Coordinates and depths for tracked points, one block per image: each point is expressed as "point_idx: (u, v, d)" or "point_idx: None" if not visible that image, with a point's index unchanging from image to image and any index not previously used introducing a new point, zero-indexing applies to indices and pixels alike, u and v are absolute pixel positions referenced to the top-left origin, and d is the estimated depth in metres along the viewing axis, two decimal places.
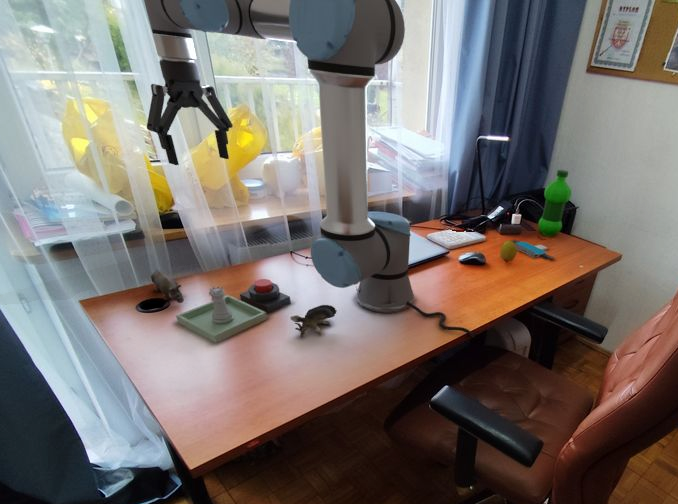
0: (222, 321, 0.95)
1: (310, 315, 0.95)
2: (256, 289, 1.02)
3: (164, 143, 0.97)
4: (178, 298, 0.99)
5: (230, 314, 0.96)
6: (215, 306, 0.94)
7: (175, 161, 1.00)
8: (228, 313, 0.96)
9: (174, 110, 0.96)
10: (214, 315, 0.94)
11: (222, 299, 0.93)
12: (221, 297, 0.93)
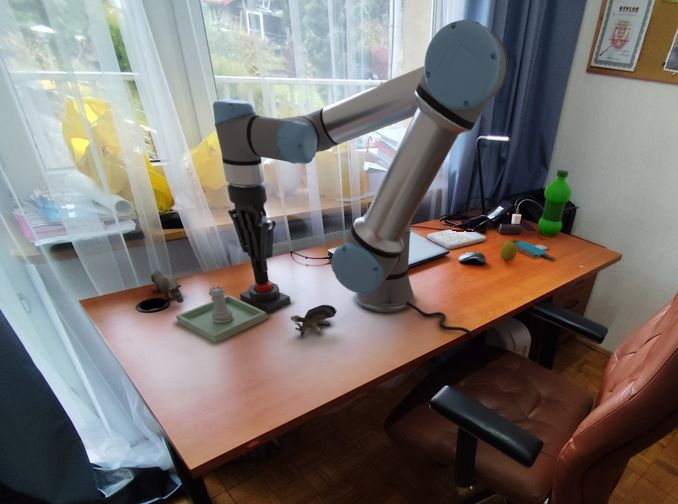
0: (222, 321, 0.95)
1: (310, 315, 0.95)
2: (256, 290, 1.02)
3: (252, 263, 1.00)
4: (178, 298, 0.99)
5: (230, 314, 0.96)
6: (215, 306, 0.94)
7: (255, 280, 1.02)
8: (228, 313, 0.96)
9: (245, 231, 0.95)
10: (214, 315, 0.94)
11: (222, 299, 0.93)
12: (221, 297, 0.93)
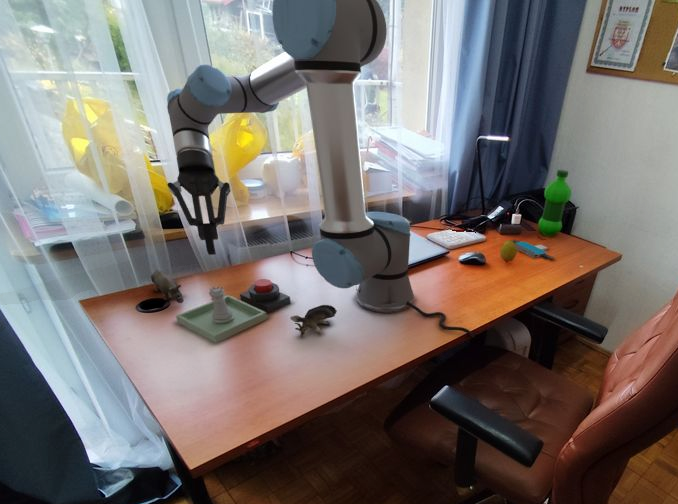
0: (222, 321, 0.95)
1: (310, 315, 0.95)
2: (256, 289, 1.02)
3: (199, 232, 0.95)
4: (178, 298, 0.99)
5: (230, 314, 0.96)
6: (215, 306, 0.94)
7: (207, 247, 0.94)
8: (228, 313, 0.96)
9: (194, 198, 0.95)
10: (214, 315, 0.94)
11: (222, 299, 0.93)
12: (221, 297, 0.93)
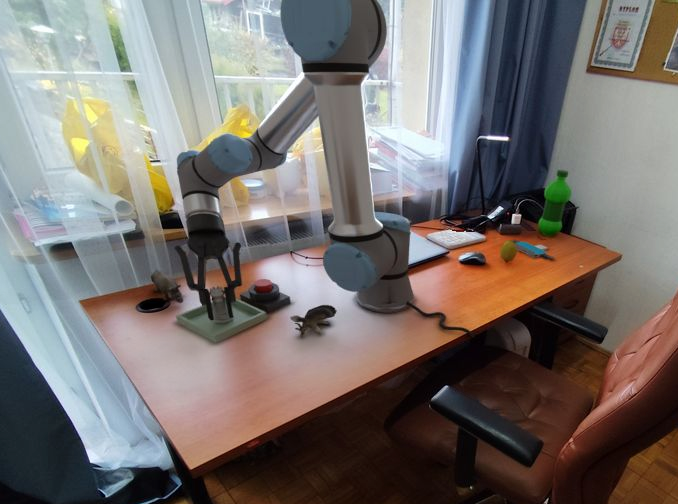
0: (222, 321, 0.95)
1: (310, 315, 0.95)
2: (256, 289, 1.02)
3: (200, 298, 0.91)
4: (178, 298, 0.99)
5: None
6: (215, 306, 0.94)
7: (208, 313, 0.91)
8: None
9: (200, 262, 0.92)
10: (214, 315, 0.94)
11: (222, 299, 0.93)
12: (221, 297, 0.93)
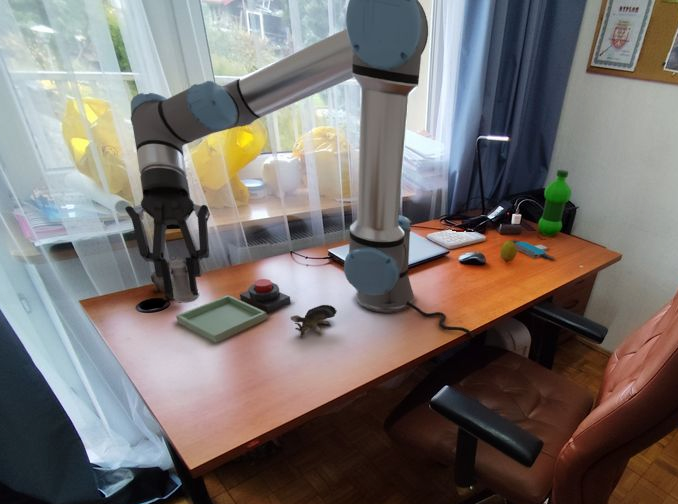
0: (185, 299, 0.79)
1: (310, 315, 0.95)
2: (256, 289, 1.02)
3: (156, 270, 0.75)
4: None
5: None
6: (175, 281, 0.77)
7: (165, 289, 0.74)
8: None
9: (157, 227, 0.76)
10: (175, 292, 0.78)
11: (184, 272, 0.77)
12: (182, 270, 0.77)
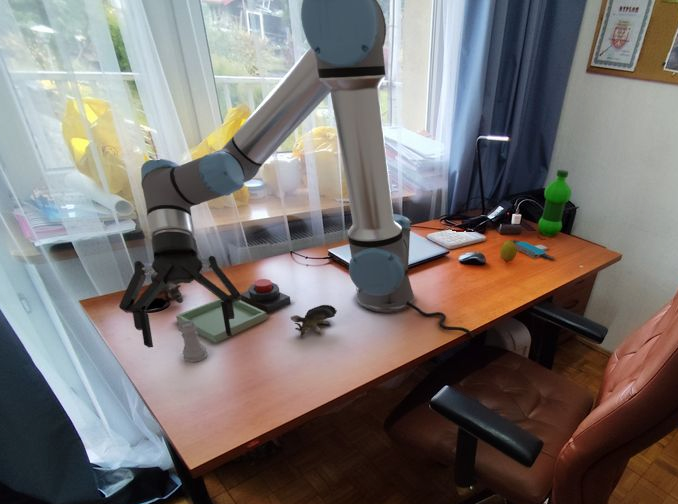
0: (194, 359, 0.83)
1: (310, 315, 0.95)
2: (256, 289, 1.02)
3: (135, 321, 0.77)
4: (177, 298, 0.99)
5: (204, 351, 0.84)
6: (186, 343, 0.82)
7: (144, 340, 0.77)
8: (202, 350, 0.84)
9: (154, 284, 0.79)
10: (185, 352, 0.83)
11: (194, 335, 0.82)
12: (193, 333, 0.81)
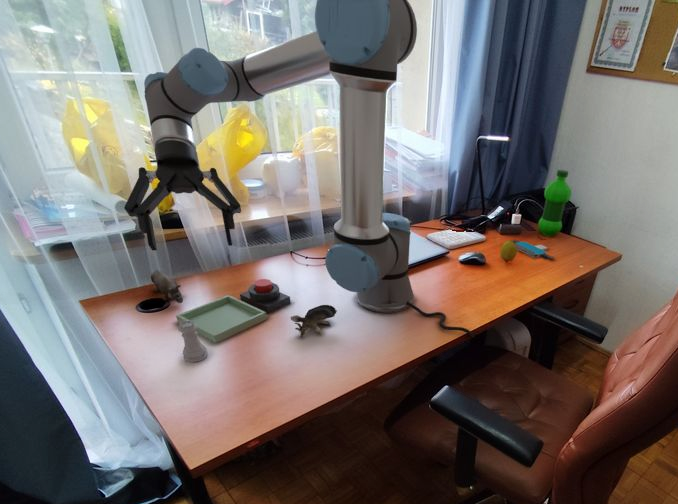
0: (194, 359, 0.83)
1: (310, 315, 0.95)
2: (256, 289, 1.02)
3: (139, 223, 0.81)
4: (177, 298, 0.99)
5: (204, 351, 0.84)
6: (186, 343, 0.82)
7: (149, 240, 0.80)
8: (202, 350, 0.84)
9: (157, 190, 0.82)
10: (185, 352, 0.83)
11: (194, 335, 0.82)
12: (193, 333, 0.81)
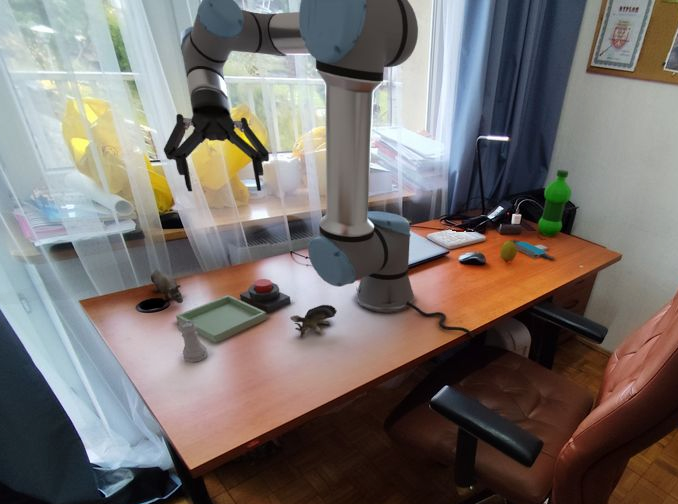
0: (194, 359, 0.83)
1: (310, 315, 0.95)
2: (256, 289, 1.02)
3: (177, 165, 0.87)
4: (177, 298, 0.99)
5: (204, 351, 0.84)
6: (186, 343, 0.82)
7: (186, 181, 0.86)
8: (202, 350, 0.84)
9: (193, 135, 0.89)
10: (185, 352, 0.83)
11: (194, 335, 0.82)
12: (193, 333, 0.81)
